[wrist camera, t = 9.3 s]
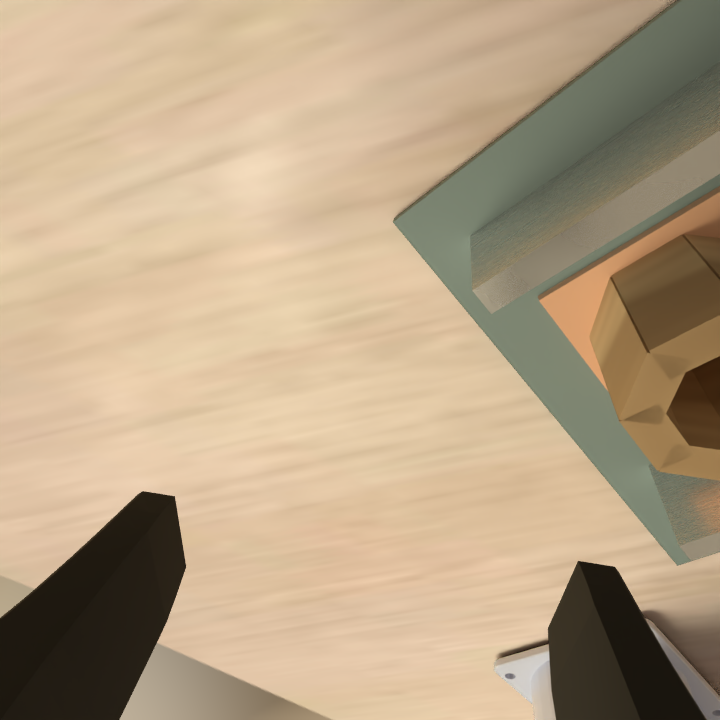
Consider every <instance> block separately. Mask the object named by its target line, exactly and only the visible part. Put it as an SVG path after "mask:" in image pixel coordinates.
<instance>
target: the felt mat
mask: <svg viewBox="0 0 720 720" xmlns="http://www.w3.org/2000/svg"><path fill="white" fill-rule="evenodd" d="M719 61H720V0H677V1H676V2H674V3H673V4H672V5H670V6H669V7H668V8H666V9H665V10H664V11H663V12H661V13H660V14H659V15H657V16H656V17H655V18H653V19H652V20H651V21H650V22H648V23H647V24H646V25H644V26H643V27H642V28H641V29H639V30H638V31H637V32H635V33H634V34H633V35H631V36H630V37H629V38H628V39H626V40H625V41H624V42H622V43H621V44H620V45H618V46H617V47H616V48H615V49H613V50H612V51H611V52H609V53H608V54H607V55H606V56H604V57H603V58H602V59H600V60H599V61H598V62H596V63H595V64H594V65H593V66H591V67H590V68H589V69H587V70H586V71H585V72H583V73H582V74H581V75H580V76H578V77H577V78H576V79H574V80H573V81H572V82H570V83H569V84H568V85H567V86H565V87H564V88H563V89H561V90H560V91H559V92H558V93H556V94H555V95H554V96H552V97H551V98H550V99H548V100H547V101H546V102H545V103H543V104H542V105H541V106H539V107H538V108H537V109H535V110H534V111H533V112H532V113H530V114H529V115H528V116H526V117H525V118H524V119H522V120H521V121H520V122H519V123H517V124H516V125H515V126H513V127H512V128H511V129H510V130H508V131H507V132H506V133H504V134H503V135H502V136H500V137H499V138H498V139H497V140H495V141H494V142H493V143H491V144H490V145H489V146H487V147H486V148H485V149H484V150H482V151H481V152H480V153H478V154H477V155H476V156H474V157H473V158H472V159H471V160H469V161H468V162H467V163H465V164H464V165H463V166H462V167H460V168H459V169H458V170H456V171H455V172H454V173H452V174H451V175H450V176H449V177H447V178H446V179H445V180H443V181H442V182H441V183H439V184H438V185H437V186H436V187H434V188H433V189H432V190H430V191H429V192H428V193H426V194H425V195H424V196H423V197H421V198H420V199H419V200H417V201H416V202H415V203H414V204H412V205H411V206H410V207H408V208H407V209H406V210H404V211H403V212H402V213H401V214H399V215H398V216H397V217H395V218H394V220H393V223H394V224H395V225H396V226H397V228H398V229H399V230H400V231H401V232H402V234H403V235H404V236H405V237H406V238H407V240H408V241H409V242H410V243H411V245H412V246H413V247H414V248H415V249H416V251H417V252H418V253H419V254H420V255H421V257H422V258H423V259H424V260H425V261H426V263H427V264H428V265H429V266H430V267H431V269H432V270H433V271H434V272H435V273H436V275H437V276H438V277H439V278H440V280H441V281H442V282H443V283H444V284H445V286H446V287H447V288H448V289H449V290H450V292H451V293H452V294H453V295H454V296H455V298H456V299H457V300H458V301H459V302H460V304H461V305H462V306H463V307H464V308H465V310H466V311H467V312H468V313H469V315H470V316H471V317H472V318H473V319H474V321H475V322H476V323H477V324H478V325H479V327H480V328H481V329H482V330H483V331H484V333H485V334H486V335H487V336H488V337H489V339H490V340H491V341H492V342H493V343H494V345H495V346H496V347H497V348H498V350H499V351H500V352H501V353H502V354H503V356H504V357H505V358H506V359H507V360H508V362H509V363H510V364H511V365H512V366H513V368H514V369H515V370H516V371H517V372H518V374H519V375H520V376H521V377H522V378H523V380H524V381H525V382H526V383H527V385H528V386H529V387H530V388H531V389H532V391H533V392H534V393H535V394H536V395H537V397H538V398H539V399H540V400H541V401H542V403H543V404H544V405H545V406H546V407H547V409H548V410H549V411H550V412H551V413H552V415H553V416H554V417H555V418H556V420H557V421H558V422H559V423H560V424H561V426H562V427H563V428H564V429H565V430H566V432H567V433H568V434H569V435H570V436H571V438H572V439H573V440H574V441H575V442H576V444H577V445H578V446H579V447H580V448H581V450H582V451H583V452H584V453H585V455H586V456H587V457H588V458H589V459H590V461H591V462H592V463H593V464H594V465H595V467H596V468H597V469H598V470H599V471H600V473H601V474H602V475H603V476H604V477H605V479H606V480H607V481H608V482H609V484H610V485H611V486H612V487H613V488H614V490H615V491H616V492H617V493H618V494H619V496H620V497H621V498H622V499H623V500H624V502H625V503H626V504H627V505H628V506H629V508H630V509H631V510H632V511H633V512H634V514H635V515H636V516H637V517H638V519H639V520H640V521H641V522H642V523H643V525H644V526H645V527H646V528H647V529H648V531H649V532H650V533H651V534H652V535H653V537H654V538H655V539H656V540H657V541H658V543H659V544H660V545H661V546H662V547H663V549H664V550H665V551H666V552H667V554H668V555H669V556H670V557H671V558H672V560H673V561H674V562H675V563H676V564H677V566H678V565H681V564H684V563H687V562H690V561H691V560H690V559H689V558H688V556H687V555H686V554H685V553H684V551H683V550H682V549H681V548H680V547H679V544H678V542H677V539H676V537H675V534H674V531H673V529H672V526H671V524H670V521H669V518H668V516H667V513H666V511H665V508H664V505H663V503H662V500H661V498H660V495H659V492H658V490H657V487H656V485H655V482H654V479H653V477H652V474H651V472H650V469H649V466H648V465H650V464H652V463H651V462H650V461H649V459H648V458H647V457H646V456H645V454H644V453H643V452H642V450H641V449H640V448H639V447H638V445H637V444H636V443H635V441H634V440H633V439H632V437H631V436H630V435H629V434H628V432H627V431H626V430H625V428H624V427H623V426H622V424H621V423H620V422H619V419H618V417H617V414H616V411H615V408H614V405H613V403H612V400H611V397H610V394H609V392H608V391H607V389H606V388H605V387H604V385H603V384H602V383H601V382H600V380H599V379H598V378H597V376H596V375H595V374H594V372H593V371H592V370H591V368H590V367H589V366H588V364H587V363H586V362H585V361H584V359H583V358H582V357H581V355H580V354H579V353H578V351H577V350H576V349H575V347H574V346H573V345H572V343H571V342H570V341H569V340H568V338H567V337H566V336H565V334H564V333H563V332H562V330H561V329H560V328H559V326H558V325H557V324H556V322H555V321H554V320H553V318H552V317H551V316H550V315H549V313H548V312H547V311H546V309H545V308H544V307H543V305H542V304H541V303H540V301H539V299H538V296H539V295H540V294H542V293H544V292H545V291H547V290H548V289H550V288H552V287H553V286H555V285H557V284H558V283H560V282H562V281H563V280H565V279H567V278H568V277H570V276H572V275H573V274H575V273H577V272H578V271H580V270H582V269H583V268H585V267H586V266H588V265H590V264H591V263H593V262H595V261H596V260H598V259H600V258H601V257H603V256H605V255H606V254H608V253H610V252H611V251H613V250H615V249H616V248H618V247H620V246H621V245H623V244H625V243H626V242H628V241H629V240H631V239H633V238H634V237H636V236H638V235H639V234H641V233H643V232H644V231H646V230H648V229H649V228H651V227H653V226H654V225H656V224H658V223H659V222H661V221H663V220H664V219H666V218H668V217H669V216H671V215H672V214H674V213H676V212H677V211H679V210H681V209H682V208H684V207H686V206H687V205H689V204H691V203H692V202H694V201H696V200H697V199H699V198H701V197H702V196H704V195H706V194H707V193H709V192H710V191H712V190H714V189H715V188H717V187H719V186H720V174H719V175H717V176H715V177H714V178H712V179H711V180H709V181H707V182H706V183H704V184H702V185H701V186H699V187H698V188H696V189H694V190H693V191H691V192H689V193H688V194H686V195H685V196H683V197H681V198H680V199H678V200H676V201H675V202H673V203H671V204H670V205H668V206H667V207H665V208H663V209H662V210H660V211H658V212H657V213H655V214H654V215H652V216H650V217H649V218H647V219H645V220H644V221H642V222H641V223H639V224H637V225H636V226H634V227H632V228H631V229H629V230H628V231H626V232H624V233H623V234H621V235H619V236H618V237H616V238H614V239H613V240H611V241H610V242H608V243H606V244H605V245H603V246H601V247H600V248H598V249H597V250H595V251H593V252H592V253H590V254H588V255H587V256H585V257H584V258H582V259H580V260H579V261H577V262H575V263H574V264H572V265H571V266H569V267H567V268H566V269H564V270H562V271H561V272H559V273H557V274H556V275H554V276H553V277H551V278H549V279H548V280H546V281H544V282H543V283H541V284H540V285H538V286H536V287H535V288H533V289H531V290H530V291H528V292H527V293H525V294H523V295H522V296H520V297H518V298H517V299H515V300H514V301H512V302H510V303H509V304H507V305H505V306H504V307H502V308H500V309H499V310H497V311H496V312H494V313H492V314H491V313H490V312H489V311H488V309H487V308H486V307H485V306H484V305H483V303H482V302H481V301H480V300H479V298H478V297H477V296H476V295H475V293H474V292H473V291H472V273H471V249H470V236H471V235H472V234H474V233H475V232H476V231H478V230H479V229H481V228H482V227H484V226H485V225H486V224H488V223H489V222H491V221H492V220H494V219H495V218H496V217H498V216H499V215H501V214H502V213H504V212H505V211H506V210H508V209H509V208H511V207H512V206H514V205H515V204H516V203H518V202H519V201H521V200H522V199H524V198H525V197H526V196H528V195H529V194H531V193H532V192H534V191H535V190H536V189H538V188H539V187H541V186H542V185H544V184H545V183H546V182H548V181H549V180H551V179H552V178H554V177H555V176H556V175H558V174H559V173H561V172H562V171H564V170H565V169H566V168H568V167H569V166H571V165H572V164H574V163H575V162H576V161H578V160H579V159H581V158H582V157H584V156H585V155H586V154H588V153H589V152H591V151H592V150H594V149H595V148H596V147H598V146H599V145H601V144H602V143H604V142H605V141H607V140H608V139H609V138H611V137H612V136H614V135H615V134H617V133H618V132H619V131H621V130H622V129H624V128H625V127H627V126H628V125H629V124H631V123H632V122H634V121H635V120H637V119H638V118H639V117H641V116H642V115H644V114H645V113H647V112H648V111H649V110H651V109H652V108H654V107H655V106H657V105H658V104H659V103H661V102H662V101H664V100H665V99H667V98H668V97H669V96H671V95H672V94H674V93H675V92H677V91H678V90H679V89H681V88H682V87H684V86H685V85H687V84H688V83H689V82H691V81H692V80H694V79H695V78H697V77H698V76H699V75H701V74H702V73H704V72H705V71H707V70H708V69H709V68H711V67H712V66H714V65H715V64H717V63H718V62H719ZM719 552H720V551H719ZM716 553H718V552H716ZM713 554H715V553H713ZM710 555H712V554H710ZM707 556H709V555H707ZM704 557H706V556H704ZM701 558H703V557H701ZM698 559H700V558H698ZM695 560H696V559H695ZM692 561H693V560H692Z"/></svg>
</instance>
